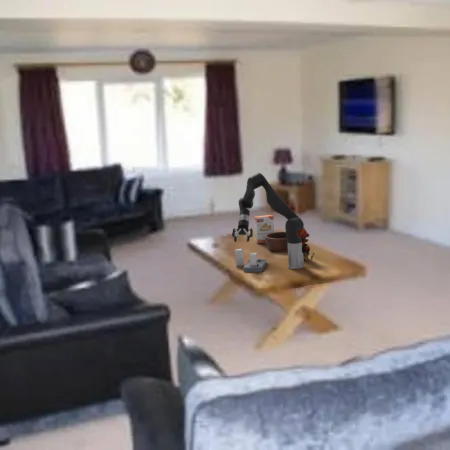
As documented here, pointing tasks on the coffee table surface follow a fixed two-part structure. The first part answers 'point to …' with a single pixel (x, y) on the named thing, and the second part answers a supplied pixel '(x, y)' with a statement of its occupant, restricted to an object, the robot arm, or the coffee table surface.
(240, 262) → the block
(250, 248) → the coffee table surface
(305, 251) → the red flower plant
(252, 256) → the block
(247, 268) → the grey square hole board
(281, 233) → the wooden bowl
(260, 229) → the cracker box
